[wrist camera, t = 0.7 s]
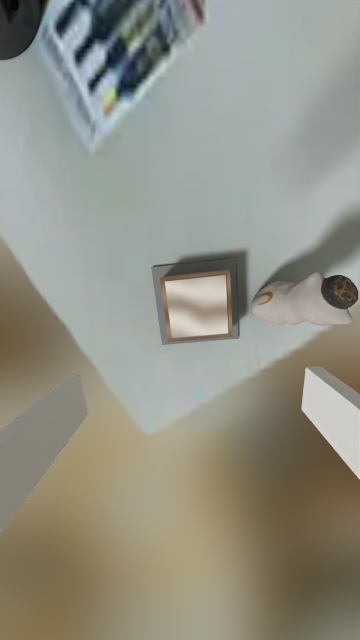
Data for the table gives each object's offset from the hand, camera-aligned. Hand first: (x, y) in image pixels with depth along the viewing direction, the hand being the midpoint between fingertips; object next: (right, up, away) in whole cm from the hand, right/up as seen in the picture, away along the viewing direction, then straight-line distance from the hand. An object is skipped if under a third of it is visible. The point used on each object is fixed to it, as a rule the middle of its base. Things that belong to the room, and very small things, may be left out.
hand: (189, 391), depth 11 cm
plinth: (+3, +7, +26) cm, 27 cm away
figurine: (+17, +9, +25) cm, 32 cm away
